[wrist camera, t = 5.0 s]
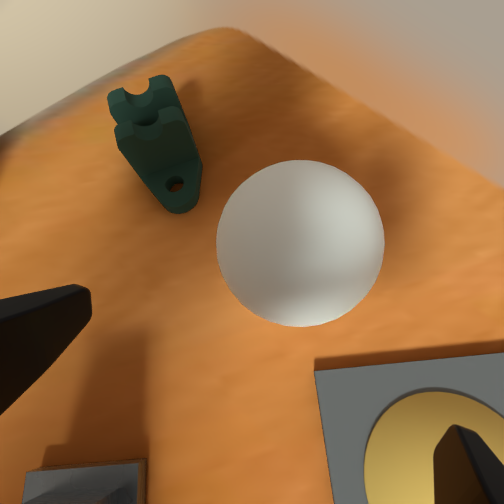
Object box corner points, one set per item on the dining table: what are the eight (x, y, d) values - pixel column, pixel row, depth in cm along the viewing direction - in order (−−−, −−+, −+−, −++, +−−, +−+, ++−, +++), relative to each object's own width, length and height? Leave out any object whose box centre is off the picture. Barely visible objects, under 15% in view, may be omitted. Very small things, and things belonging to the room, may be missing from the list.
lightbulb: (301, 230, 21) (315, 90, 11) (366, 304, 19) (462, 219, 8) (225, 283, 20) (160, 188, 10) (283, 367, 18) (278, 358, 8)
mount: (215, 203, 23) (197, 159, 18) (156, 224, 22) (122, 185, 18) (179, 98, 27) (157, 40, 22) (129, 115, 27) (96, 60, 22)
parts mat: (629, 633, 13) (650, 648, 12) (355, 644, 14) (359, 660, 13) (519, 351, 17) (530, 350, 16) (313, 371, 18) (314, 371, 17)
